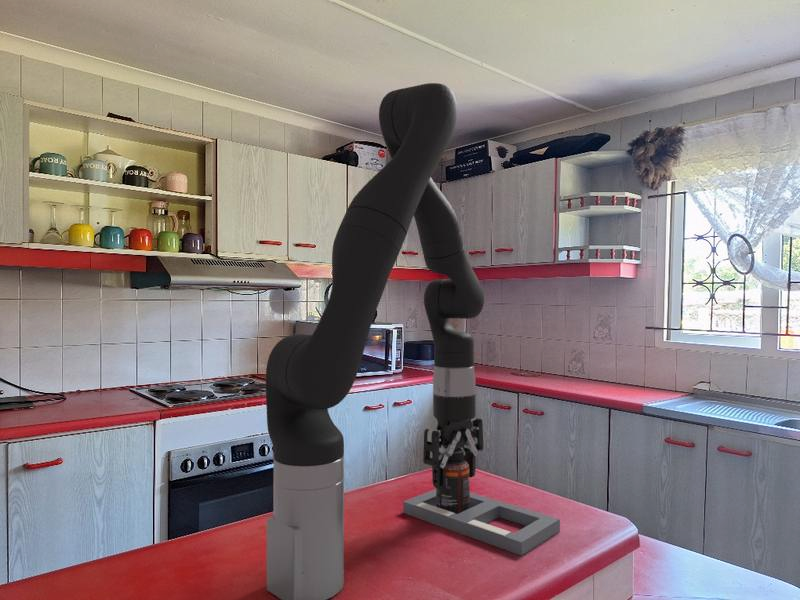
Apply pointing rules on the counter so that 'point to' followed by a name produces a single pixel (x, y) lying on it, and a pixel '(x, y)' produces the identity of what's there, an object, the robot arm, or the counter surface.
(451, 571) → the counter surface
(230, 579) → the counter surface
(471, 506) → the socket panel
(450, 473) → the supplement bottle
